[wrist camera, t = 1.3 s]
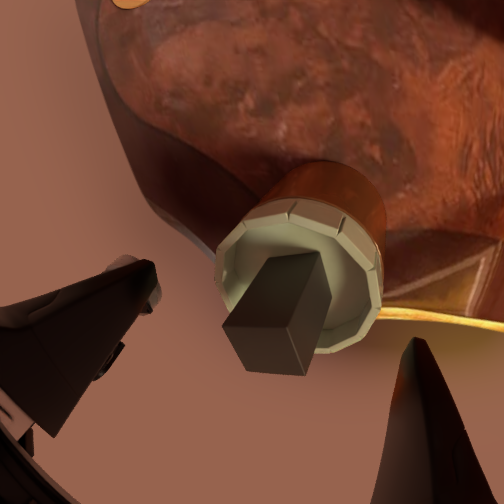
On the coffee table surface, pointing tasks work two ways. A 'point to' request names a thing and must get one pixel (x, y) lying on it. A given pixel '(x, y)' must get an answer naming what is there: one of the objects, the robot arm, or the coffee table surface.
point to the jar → (316, 244)
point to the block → (281, 315)
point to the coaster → (130, 3)
